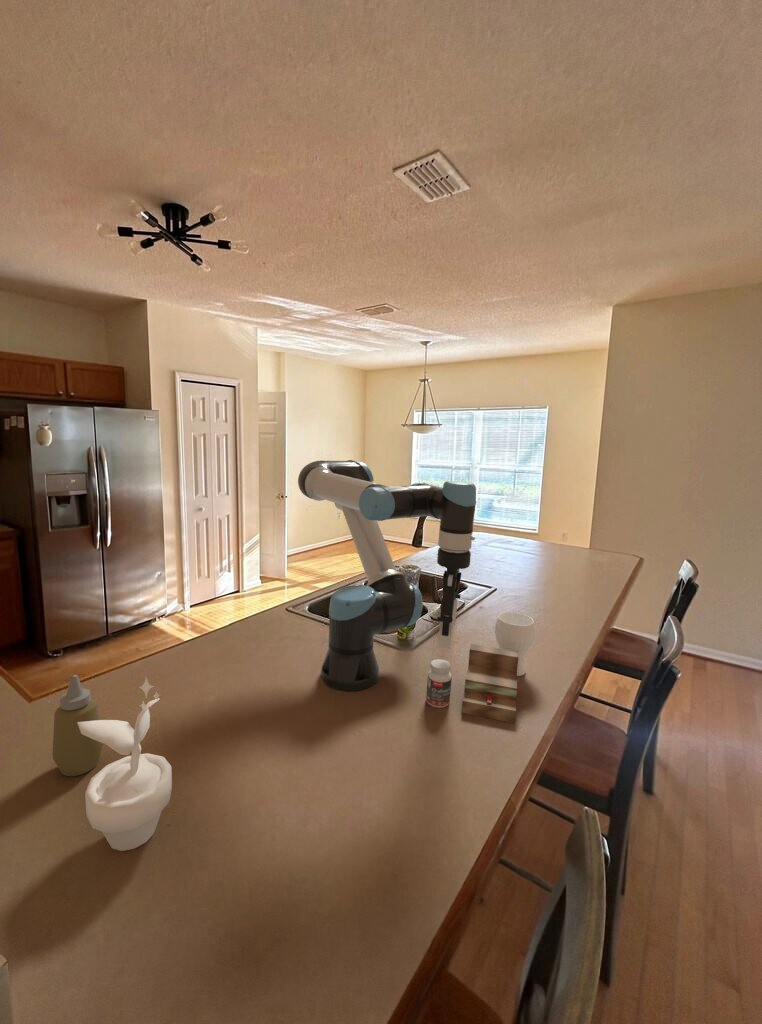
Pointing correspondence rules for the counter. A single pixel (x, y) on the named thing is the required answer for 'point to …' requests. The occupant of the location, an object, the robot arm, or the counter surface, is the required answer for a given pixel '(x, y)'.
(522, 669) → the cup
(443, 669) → the pill bottle
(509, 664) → the stand
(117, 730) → the potted plant
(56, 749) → the squeeze bottle
